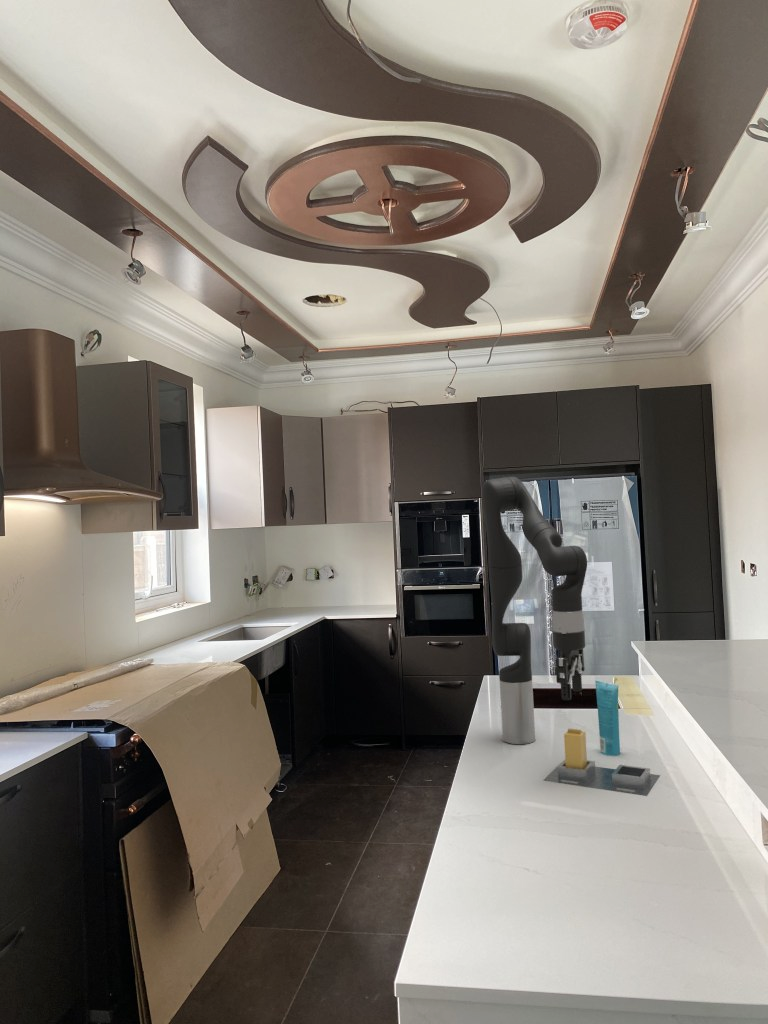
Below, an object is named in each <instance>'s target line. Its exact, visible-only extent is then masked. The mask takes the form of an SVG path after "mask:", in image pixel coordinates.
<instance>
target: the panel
mask: <svg viewBox="0 0 768 1024" xmlns="http://www.w3.org/2000/svg"><path fill="white" fill-rule="evenodd" d="M660 777H661V774H653V773H651V769H650V768H649V767H642V766H640V767H639V766H632V765H625V764H624V765H623V764H619V765H618V766H617V767H616V768H615V769H614V768H609V767H603V766H596V762H595V761H594V760H588V759H587V766H586V767H585V768H584V769H580V768H572V767H566V762H565V759H564V760H563V761H562V762H560V763H559V764H558V766H556V767H555V768H554V769H553V770H552V771H551V772H550V773H549V774H548V775H547V776H546V777H545V778H544V779H543V780H542V781H544V782H548V783H549V782H550V783H555V784H556V783H557V784H563V785H570V786H577V787H584V788H590V789H597V790H603V791H611V792H616V793H624V794H630V795H638V796H642V797H648V795H649V794H650V793H651V791H652V789H653V787H654V786H655V784H656V783H657V782H658V780H659V778H660Z"/></svg>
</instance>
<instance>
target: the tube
mask: <svg viewBox="0 0 768 1024" xmlns="http://www.w3.org/2000/svg"><path fill="white" fill-rule="evenodd" d="M594 683H595V693H596V704H597V706H596V707H597V717H598V718H597V720H598V729H599V730H598V732H599V748H600V754H602V755H605V756H612V757H614V756H619V755H620V754H621V747H620V746H621V745H620V723H619V722H620V721H619V714H620V713H619V685H618V684H613V683H610V682H609V683H608V682H604V681H599V680H595V682H594Z"/></svg>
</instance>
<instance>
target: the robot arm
mask: <svg viewBox="0 0 768 1024" xmlns="http://www.w3.org/2000/svg"><path fill="white" fill-rule="evenodd" d="M481 502H482V503H481V504H482V509H483V517H484V524H485V529H486V539H487V540H486V541H487V562H488V566H487V567H488V577H489V579H488V580H489V587H490V588H489V589H490V597H491V598H490V599H491V643H492V644H491V645H492V650H493V652H494V654H495V655H496V656H498V657H511V656H512V657H519V658H518V660H517V661H515V662H514V663H512V664H509V665H507V666H504V667H502V668H500V669H499V672H498V677H499V679H498V681H499V693H500V694H499V695H500V697H499V698H500V711H501V712H500V716H501V733H502V734H501V735H502V741H503V742H505V743H507V744H513V745H526V744H530V743H534V742H535V740H536V727H535V710H534V709H535V708H534V707H535V705H534V691H533V688H534V687H533V673H532V672H533V671H532V657H531V656H532V635H531V627H530V626H529V624H528V623H527V622H526V623H525V622H507V623H504V617H505V614H506V611H507V609H508V606H509V605H510V603H511V601H512V600H513V598H514V596H515V594H516V593H517V592H518V590H519V588H520V586H521V585H522V581H523V565H522V563H523V562H522V557H521V554H520V551H519V550H518V548H517V546H516V545H515V544H514V543H513V541H512V539H510V538H509V536H508V534H507V533H506V531H505V529H504V527H503V522H502V514H501V513H504V512H509V511H514V510H517V511H519V512H520V513H521V514H522V526H521V527H522V533H523V536H524V537H525V539H526V541H528V543H529V544H530V545H531V546H532V547H533V548H534V550H536V553H537V555H538V557H539V560H540V562H541V566H542V568H543V570H544V571H545V573H547V574H548V575H550V576H552V577H562V576H565V579H564V581H563V583H560V584H559V585H556V586H554V587H553V588H552V591H551V603H552V604H551V605H552V615H551V623H552V640H553V641H552V642H553V643H552V644H553V648H554V649H556V650H557V651H558V650H559V651H560V656H558V657H556V658H555V672H556V673H555V674H556V675H555V676H556V683H557V684H560V695H561V696H560V697H561V699H562V701H563V700H564V701H570V700H572V691H573V692H582V690H583V684H582V683H583V682H582V681H583V680H582V676H583V672H585V670H586V669H585V659H584V658H585V657H584V649H585V647H586V636H585V635H586V634H585V631H586V630H585V617H584V613H583V600H582V599H583V597H582V593H583V588H584V582H585V578H586V573H587V570H588V569H587V568H588V557H587V555H586V552H585V550H584V549H583V548H582V547H580V546H579V545H567V546H566V545H565V546H562V544H563V538H562V536H561V534H560V533H559V532H558V530H556V529H555V527H554V526H553V525H552V524H551V523H550V522H549V521H548V520H547V519H546V518H545V516H544V515H543V514H542V512H541V511H540V509H539V507H538V506H537V504H536V502H535V500H534V499H533V497H532V495H531V493H530V492H529V491H528V489H527V487H526V486H525V484H524V482H522V480H521V479H520V478H518V477H517V476H506V477H505V476H504V477H500V478H492V479H487V480H485V481H484V482H483V484H482V487H481Z"/></svg>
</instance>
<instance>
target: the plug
mask: <svg viewBox="0 0 768 1024" xmlns="http://www.w3.org/2000/svg"><path fill="white" fill-rule="evenodd" d="M586 734H587V733H586V731H583V730H582V729H577V728H575V729H574V728H568V729H567V731H566V732H565V733H564V734H563V737H564V738H563V739H564V740H563V741H564V755H565V756H564V760H565V762H566V767H572V768H580V769H584V768H585V767H586V766H587V760H588V756H587V753H588V752H587V741H586V740H587V739H586V738H587V737H586V736H587V735H586Z"/></svg>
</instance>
